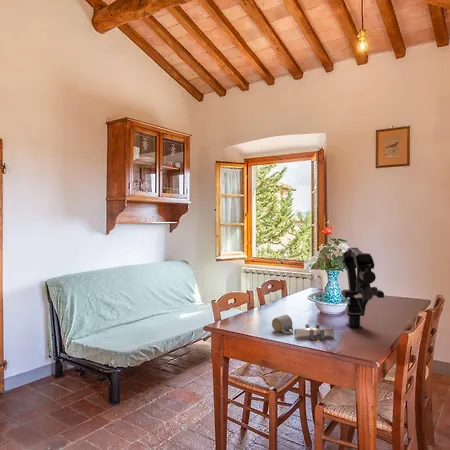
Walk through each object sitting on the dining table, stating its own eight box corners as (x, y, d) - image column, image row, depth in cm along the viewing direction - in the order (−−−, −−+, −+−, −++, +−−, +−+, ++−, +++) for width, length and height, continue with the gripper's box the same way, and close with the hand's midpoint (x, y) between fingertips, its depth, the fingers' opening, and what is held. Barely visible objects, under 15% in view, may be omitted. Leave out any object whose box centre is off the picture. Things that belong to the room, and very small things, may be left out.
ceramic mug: (270, 330, 189) (270, 315, 188) (282, 327, 193) (282, 312, 193) (285, 336, 180) (285, 320, 180) (297, 333, 185) (297, 317, 184)
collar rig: (304, 332, 185) (304, 322, 185) (317, 332, 186) (317, 322, 186) (311, 342, 171) (312, 331, 171) (325, 342, 171) (326, 331, 171)
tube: (296, 339, 175) (296, 330, 175) (294, 336, 180) (294, 327, 179) (334, 338, 177) (334, 329, 176) (330, 335, 181) (330, 326, 181)
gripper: (348, 282, 172) (348, 315, 173) (389, 282, 171) (388, 316, 172) (341, 278, 183) (341, 309, 184) (379, 278, 183) (379, 309, 183)
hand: (362, 311), depth 180 cm, fingers closed
